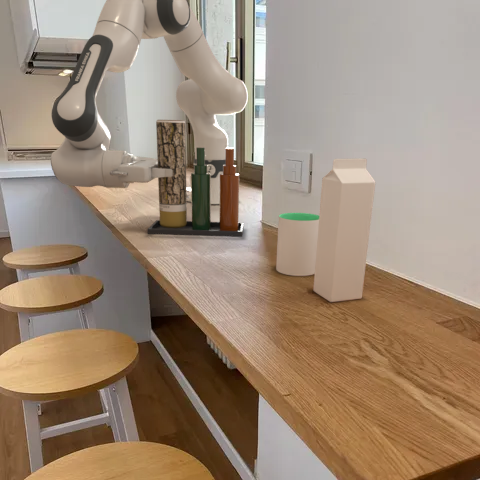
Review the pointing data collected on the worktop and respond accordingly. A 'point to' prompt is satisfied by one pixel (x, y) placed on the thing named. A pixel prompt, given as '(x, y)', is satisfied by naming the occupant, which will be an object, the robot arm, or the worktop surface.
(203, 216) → the green bottle
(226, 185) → the amber bottle
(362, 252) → the milk
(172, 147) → the paper tube
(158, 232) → the tray
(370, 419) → the worktop surface
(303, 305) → the worktop surface
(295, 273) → the mug
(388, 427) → the worktop surface
